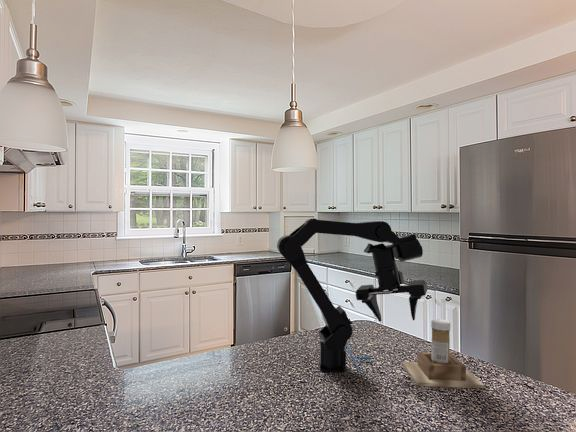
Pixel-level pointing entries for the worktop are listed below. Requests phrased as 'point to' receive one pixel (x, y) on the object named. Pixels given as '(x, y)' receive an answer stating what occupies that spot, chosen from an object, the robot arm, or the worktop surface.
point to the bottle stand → (441, 373)
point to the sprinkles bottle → (440, 341)
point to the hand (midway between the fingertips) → (396, 320)
